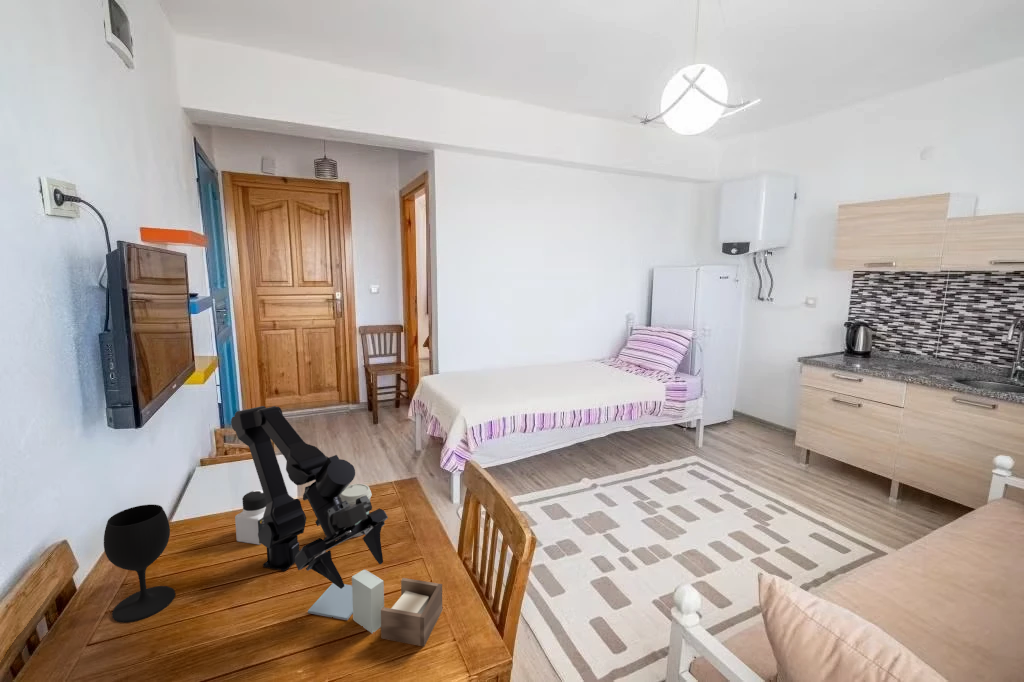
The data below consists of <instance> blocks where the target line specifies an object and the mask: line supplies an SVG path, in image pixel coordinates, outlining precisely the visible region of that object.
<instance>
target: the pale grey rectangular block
mask: <svg viewBox="0 0 1024 682" xmlns="http://www.w3.org/2000/svg"><path fill="white" fill-rule="evenodd" d="M384 584H385V583H384V580H383V579H381V578H380V577H378V576H377V575H375V574H374V573H372V572H370V571H368V570H367V569H363V570H361V571H359V572H357V573H356V574H354V575H352V576H351V585H352V599H353V614H352V620H353V621H354V622H355V623H357V624H358V625H360V626H361V627H362V626H363V627H362V628H364V629H365V630H367V632H369V633H371V634H374V633H375V632H376V631H377V630H380V629H381V609H382V607H385V585H384ZM373 632H374V633H373Z"/></svg>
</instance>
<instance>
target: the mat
mask: <svg viewBox="0 0 1024 682" xmlns="http://www.w3.org/2000/svg"><path fill="white" fill-rule="evenodd" d="M307 613H308V614H312V615H316V616H323V617H328V618H332V617H333V618H332V619H338V620H344V621H348V620H349V619H350V617H351V616H353V599H352V584H345V583H344V587H343V588H342V589H340V588H339V587H338V586H336V585H335V584H334V583H332V582H331V585H330V586H329V587H328V588H327V589H326V590H325V591H324V592H323V593H322V594H321V596H320V597H319V598H318V599H317V600H316V601H315V602H314V603H313V604H312V605H311V606H310V608H308V610H307Z"/></svg>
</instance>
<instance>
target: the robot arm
mask: <svg viewBox="0 0 1024 682" xmlns="http://www.w3.org/2000/svg"><path fill="white" fill-rule="evenodd" d="M230 426H231V428H232V430H233V431H234V432H235V435H236V437H237V439H238V440H239V441H241V443H243V444H245V446H247V447H248V448H249V451H250V454H251V458H252V461H253V463H254V467H255V471H256V473H257V477H258V479H259V483H260V486H261V487H260V488H261V490H263V493H264V496H265V499H266V503H267V505H266V509H265V512H264V516H263V521H264V526H263V527H262V529H261V530H260V531H259V533H258V537H259V542H260V543H261V544H260V545H263V546H264V547H266V559H267V560H266V561H265V562H264V563H263V564H262V567H263V568H264V569H271V570H278V571H283V572H284V571H287V570H289V569H290V568H291V567H292V566H293V565H294V564H295V566H296V568H297V570H298V571H301V570H303V569H304V568H305V570H306V571H307V572H308V571H309V570H312V571H314V572H316V573H317V574H319V575H321V576H323V577H324V578H326V580H329V582H331V584H332V583H334V584H335V585H336V586H338V587H339V588H340V589H342V588H343V587H344V584H345V583H344V580H343V578H342V576H341V574H340V572H339V570H338V569H337V567H336V565H335V562H334V561H333V558H332V551H331V549H332V548H335V547H336V546H338V545H340V544H342V543H344V542H346V541H347V540H349V539H351V538H354V537H353V536H355V535H357V534H359V533H362V534H363V535H364V536H363V537H362V540H363V541H364V543H365V545H366V546H367V548H368V550H369V551H370V554H372V555H371V556H372V557H373V559H374V560H375V561H376V562H377V563H378V564H379V565H382V564H383V563H384V558H383V557H384V556H383V550H382V549H383V548H382V543H381V532H382V528H383V527H384V526H385V521H386V520H387V519H388V518H389V516H388V515H387V513H386V510H383V509H382V508H378V509H376V510H373V505H372V502H371V499H370V500H369V499H368V497H367V496H363V497H360V498H358V499H356V504H354V505H352V506H350V505H349V503H348V502H347V501H344V502H343V501H342V499H341V497H340V494H341V493H342V492H343V491H344V490H345V489H346V487H347V486H348V485H351V483H352V482H353V480H354V479H355V477H356V469H355V467H354V465H353V464H351V463H350V462H349V461H348V460H345V459H341V458H339V456H338V455H337V454H335V455H332V456H330V457H328V456H327V455H326V454H325V453H323V451H322V450H321V449H319V448H318V447H317V446H315V445H311V444H308V443H306V442H305V441H304V440H303V438H302V437H301V436H300V435H299V434H298V432H297V431H296V430H295V428H294V427H293V426H292V424H291V423H290V422H289V421H288V420H287V418H286V417H285V416H284V415H283V410H282V408H281V407H280V406H276V405H274V406H268V407H266V406H265V405H260V406H257V407H256V406H255V407H251V408H247V409H242V410H238V411H236V412H235V413H234V416H232V417H231V420H230ZM273 444H274V445H275V447H276V448H277V449H278V450H279V452H280V453H281V454H282V456H283V457H284V459H285V461H286V464H285V471H286V473H287V475H288V478H289V480H290V482H292V483H293V484H295V486H302V485H305V484H308V483H310V485H307V486H305V487H304V493H303V494H302V500H303V501H307V500H308V503H309V505H310V506H311V509H312V511H313V513H314V515H315V516H316V517H315V518H316V520H315V521H314V522H315V525H316V526H317V527H318V526H320V527H321V529H322V531H323V533H324V535H325V537H324V539H323V538H321V537H319V538H317V539H314V540H313V541H311V542H308V543H307V544H305V545H303V546H302V547H301V548H300V542H299V540H298V538H299V537H298V536H299V535H301V534H304V532H305V527H306V522H307V516H306V513H305V511H304V509H303V506H302V502H301V500H300V499H299V498H293V497H292V496H291V495H289V492H288V489H287V486H286V484H285V480H284V476H283V474H282V470H281V467H280V465H279V464H280V463H279V460H278V458H277V455H276V453H275V452H276V451H275V449H274V446H273ZM311 482H312V483H311ZM372 510H373V511H372ZM368 511H369V514H366V512H368ZM370 511H371V512H370ZM360 520H361V521H360ZM358 521H360V522H359V523H358V524H357V525H355V524H356V523H357V522H358ZM350 532H351V533H350Z"/></svg>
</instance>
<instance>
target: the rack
mask: <svg viewBox="0 0 1024 682" xmlns="http://www.w3.org/2000/svg"><path fill="white" fill-rule="evenodd" d="M400 587H401V590H400V591H401V594H400V595H401V596H402V595H403V593H404V592H405V591H409V592H413V593H417V594H421V595H425V596H429V602H428V604H427V605H426V607H425V609H424V611H423V613H422V614H419V613H413V612H407V611H402V610H396V609H391V608H392V607H391V608H389V607H385V606H384V607H382V609H381V627H380V637H381V639H383V640H388V641H393V642H398V643H403V644H409V645H415V646H419V647H425V646H426V644H427V642H428V640H429V638H430V636H431V634H432V632H433V630H434V627H435V626H436V624H437V622H438V620H439V618H440V616H441V614H442V612H443V584H442V583H436V582H432V581H425V580H418V579H413V578H406V577H402V578H401V579H400ZM401 596H400V597H401Z"/></svg>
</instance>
